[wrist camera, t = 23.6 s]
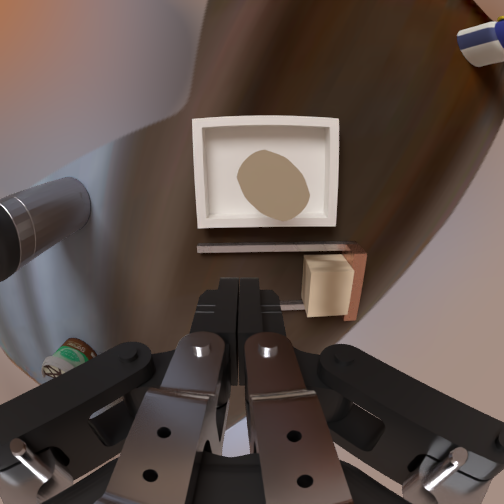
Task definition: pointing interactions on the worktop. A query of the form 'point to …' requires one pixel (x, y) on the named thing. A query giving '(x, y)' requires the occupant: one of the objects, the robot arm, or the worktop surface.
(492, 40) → the water bottle
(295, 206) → the handle
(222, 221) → the tray
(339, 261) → the block
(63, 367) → the food container
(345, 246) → the track
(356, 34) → the worktop surface
